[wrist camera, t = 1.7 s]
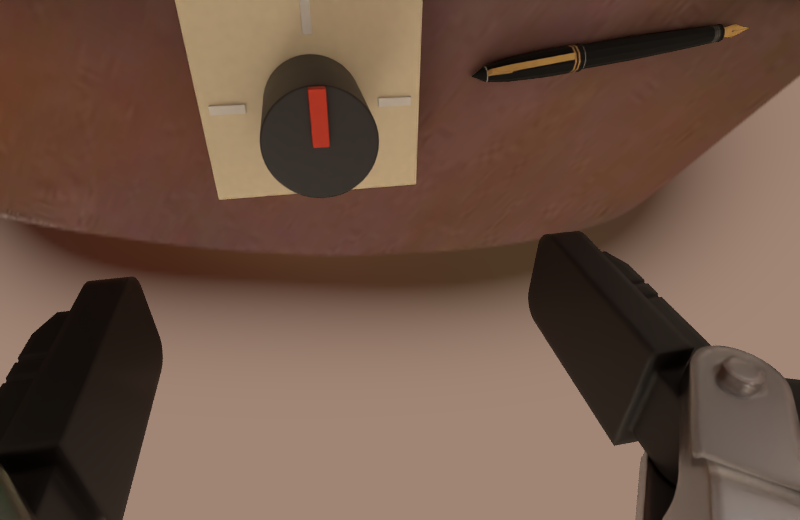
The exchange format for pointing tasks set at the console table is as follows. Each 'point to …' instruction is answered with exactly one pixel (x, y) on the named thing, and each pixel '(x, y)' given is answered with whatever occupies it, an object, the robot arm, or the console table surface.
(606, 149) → the console table surface
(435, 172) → the console table surface
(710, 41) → the fountain pen
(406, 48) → the dial panel
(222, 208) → the console table surface
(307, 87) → the dial
